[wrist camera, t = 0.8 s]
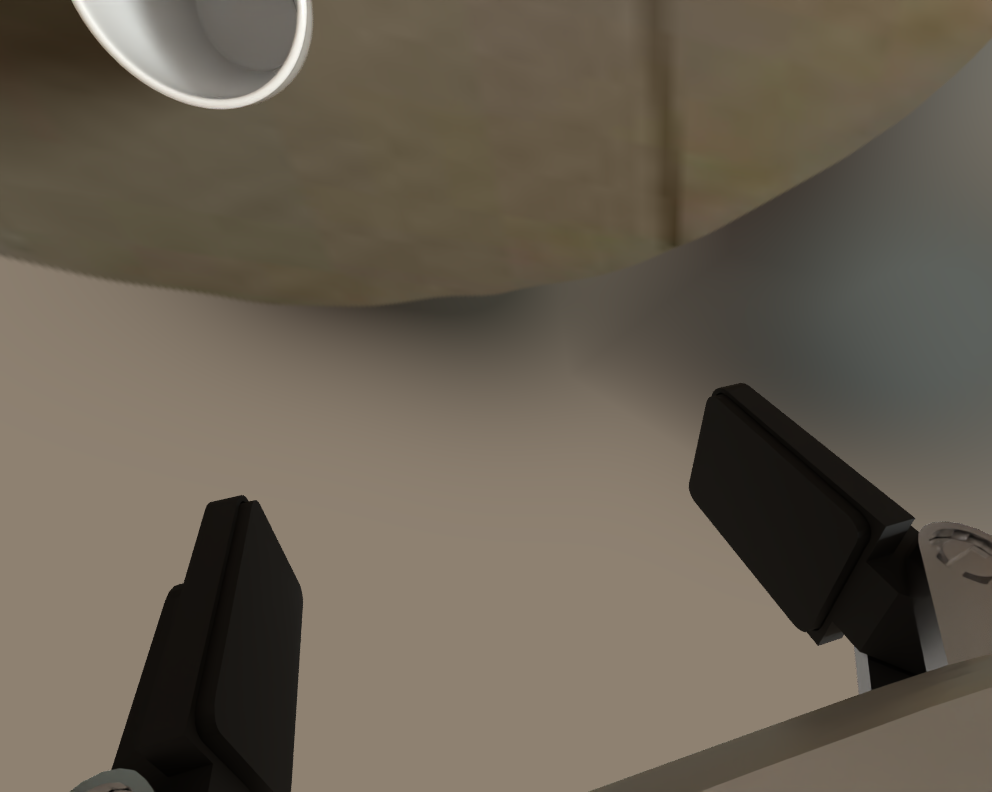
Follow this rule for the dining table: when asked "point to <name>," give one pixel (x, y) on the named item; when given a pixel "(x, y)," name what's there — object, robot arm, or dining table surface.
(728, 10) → the dining table surface
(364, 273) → the dining table surface
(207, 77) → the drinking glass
